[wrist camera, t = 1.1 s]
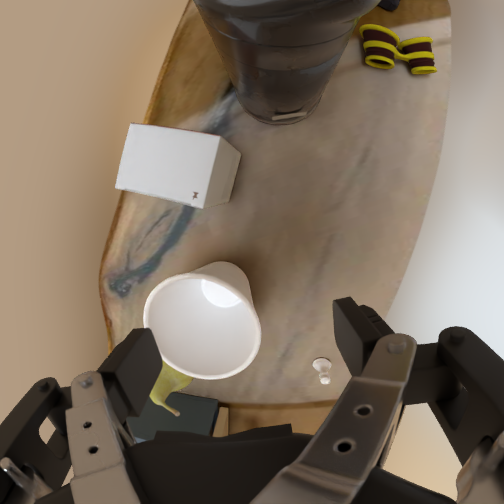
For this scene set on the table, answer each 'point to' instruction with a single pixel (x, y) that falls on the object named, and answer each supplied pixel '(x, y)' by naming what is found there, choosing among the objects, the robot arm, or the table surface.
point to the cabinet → (191, 416)
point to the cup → (205, 321)
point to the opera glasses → (384, 49)
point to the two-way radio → (389, 4)
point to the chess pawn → (323, 369)
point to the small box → (178, 165)
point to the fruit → (168, 385)
